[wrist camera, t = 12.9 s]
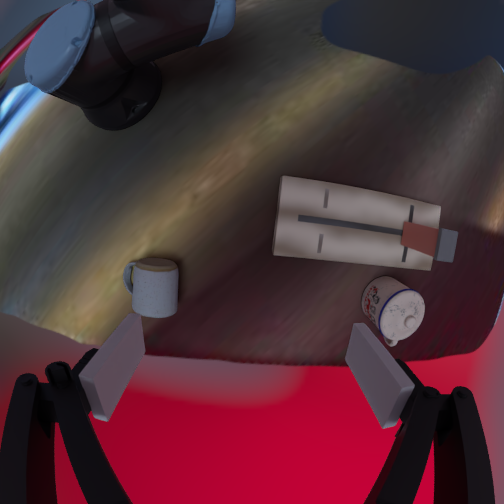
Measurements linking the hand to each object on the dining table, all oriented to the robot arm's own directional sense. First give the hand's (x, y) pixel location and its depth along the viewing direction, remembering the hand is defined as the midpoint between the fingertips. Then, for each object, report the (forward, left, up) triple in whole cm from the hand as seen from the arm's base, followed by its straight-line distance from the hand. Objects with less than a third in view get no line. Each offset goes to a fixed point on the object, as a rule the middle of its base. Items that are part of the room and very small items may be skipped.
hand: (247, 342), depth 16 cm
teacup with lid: (+8, +26, -30) cm, 41 cm away
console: (-6, +19, -30) cm, 36 cm away
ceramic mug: (+7, -15, -30) cm, 34 cm away
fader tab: (-6, +27, -26) cm, 38 cm away
